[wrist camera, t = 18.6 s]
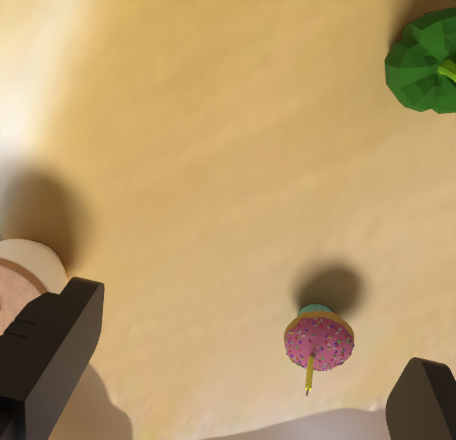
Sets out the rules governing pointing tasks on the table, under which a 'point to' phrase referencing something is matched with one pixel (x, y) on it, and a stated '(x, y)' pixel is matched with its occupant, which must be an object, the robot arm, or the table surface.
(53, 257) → the lidded sugar bowl
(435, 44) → the bell pepper
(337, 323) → the cupcake
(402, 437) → the robot arm
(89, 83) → the table surface
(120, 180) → the table surface
